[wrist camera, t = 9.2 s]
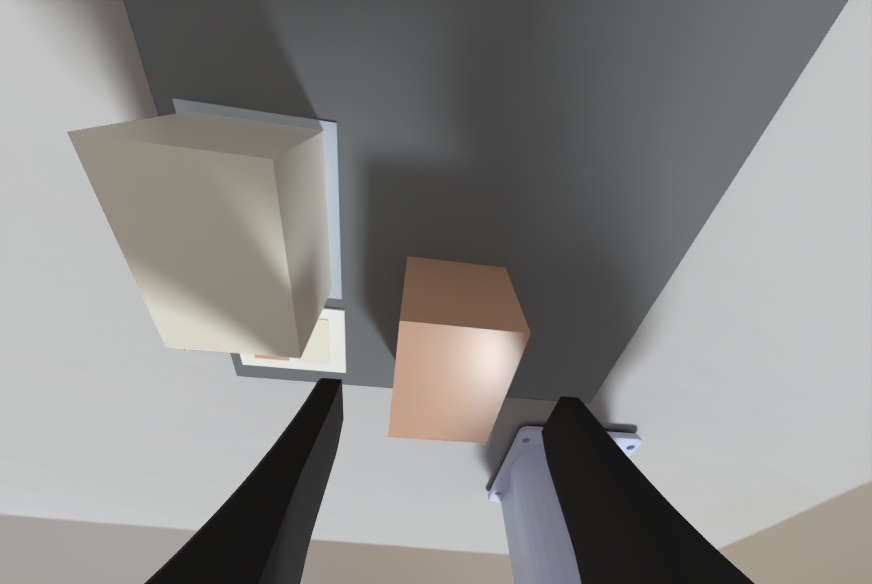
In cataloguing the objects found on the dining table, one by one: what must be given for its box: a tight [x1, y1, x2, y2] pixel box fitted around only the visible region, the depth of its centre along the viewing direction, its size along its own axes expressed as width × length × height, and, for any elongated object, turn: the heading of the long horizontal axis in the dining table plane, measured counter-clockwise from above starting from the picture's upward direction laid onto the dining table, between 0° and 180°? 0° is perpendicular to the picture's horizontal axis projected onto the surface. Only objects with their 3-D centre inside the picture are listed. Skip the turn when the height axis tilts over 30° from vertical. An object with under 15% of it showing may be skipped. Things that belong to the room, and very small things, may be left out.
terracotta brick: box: [388, 256, 531, 443], centre depth 13 cm, size 6×4×4 cm, turn 172°
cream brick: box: [68, 111, 332, 358], centre depth 10 cm, size 6×4×4 cm, turn 172°
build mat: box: [124, 0, 848, 403], centre depth 12 cm, size 20×19×1 cm
